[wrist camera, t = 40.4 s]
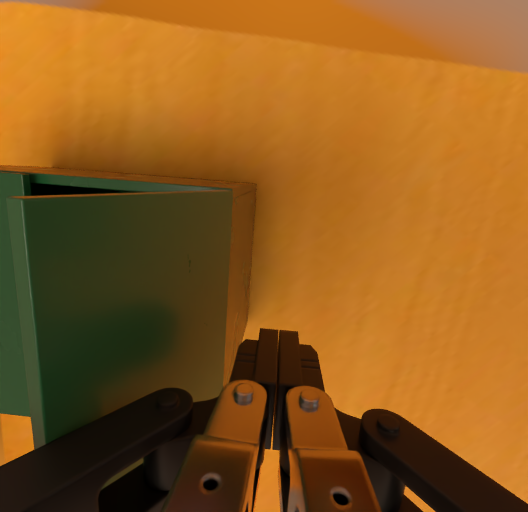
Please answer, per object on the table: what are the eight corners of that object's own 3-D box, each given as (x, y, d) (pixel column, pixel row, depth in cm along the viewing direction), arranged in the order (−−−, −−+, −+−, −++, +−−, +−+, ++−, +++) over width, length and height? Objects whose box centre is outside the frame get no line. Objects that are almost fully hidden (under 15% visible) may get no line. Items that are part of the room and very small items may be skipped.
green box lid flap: (224, 189, 13) (233, 190, 13) (213, 434, 16) (220, 437, 16) (4, 196, 5) (21, 198, 5) (58, 667, 8) (69, 675, 8)
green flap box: (256, 183, 26) (229, 188, 13) (247, 321, 29) (216, 439, 16) (50, 167, 26) (-171, 157, 14) (61, 303, 29) (-114, 401, 16)
